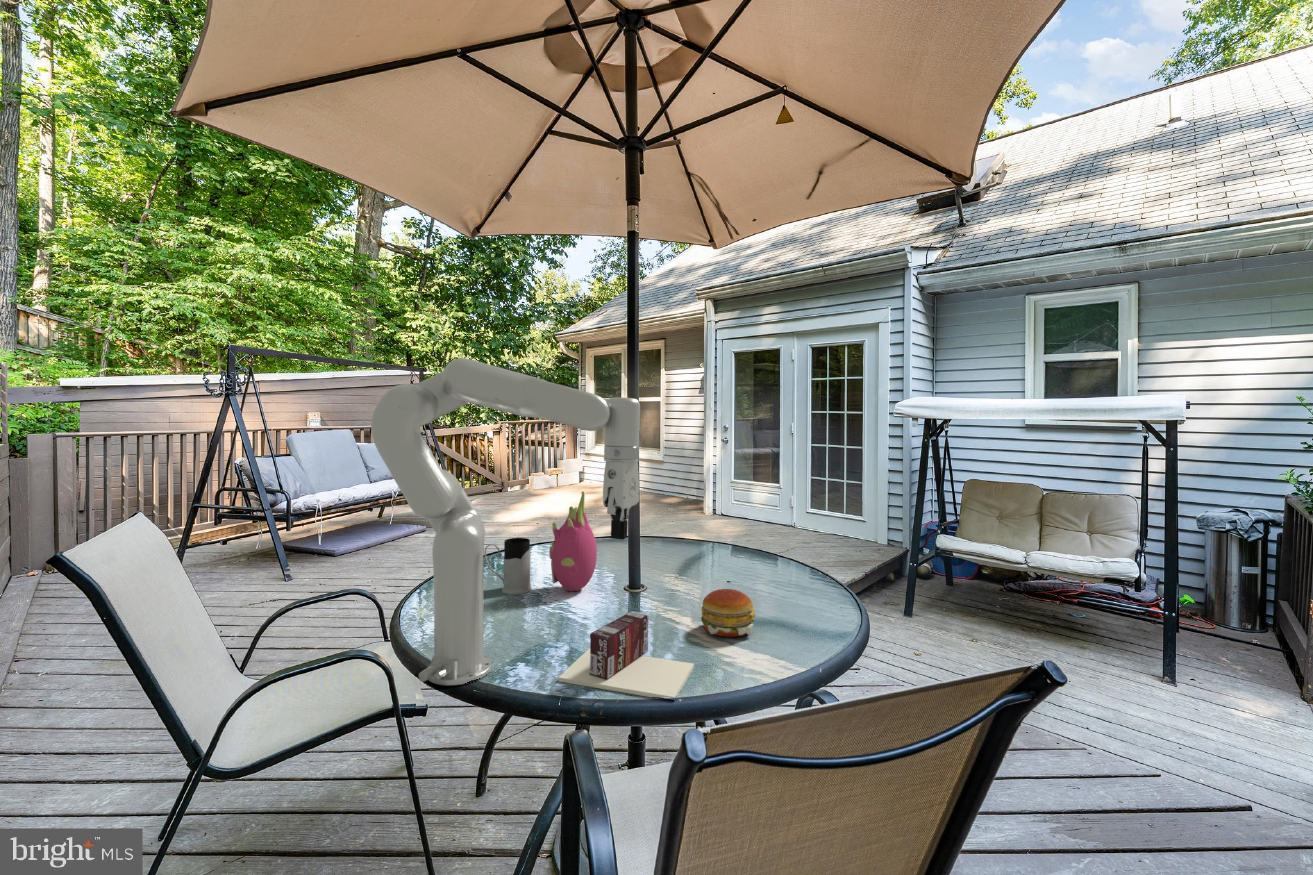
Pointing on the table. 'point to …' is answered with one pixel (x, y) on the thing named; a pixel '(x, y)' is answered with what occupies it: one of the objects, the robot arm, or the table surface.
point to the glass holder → (515, 565)
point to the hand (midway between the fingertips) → (618, 538)
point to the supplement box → (618, 644)
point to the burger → (728, 613)
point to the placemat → (634, 676)
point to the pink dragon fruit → (573, 550)
